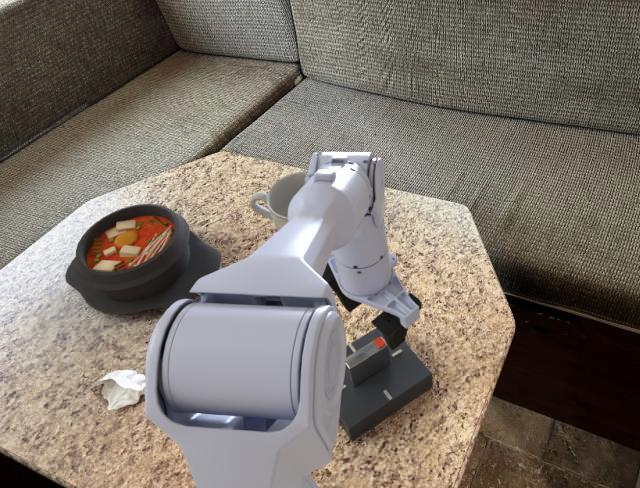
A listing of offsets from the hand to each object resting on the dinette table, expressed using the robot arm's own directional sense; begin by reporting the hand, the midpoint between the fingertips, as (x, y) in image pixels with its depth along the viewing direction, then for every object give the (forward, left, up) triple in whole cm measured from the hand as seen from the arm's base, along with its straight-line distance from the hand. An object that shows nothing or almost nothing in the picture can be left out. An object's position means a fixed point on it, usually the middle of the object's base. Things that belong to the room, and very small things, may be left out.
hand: (375, 324), depth 72 cm
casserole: (-20, +37, -10) cm, 44 cm away
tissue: (-29, +18, -10) cm, 36 cm away
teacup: (+4, +31, -10) cm, 33 cm away
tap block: (-2, -1, -10) cm, 10 cm away
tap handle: (-2, -1, -7) cm, 7 cm away
